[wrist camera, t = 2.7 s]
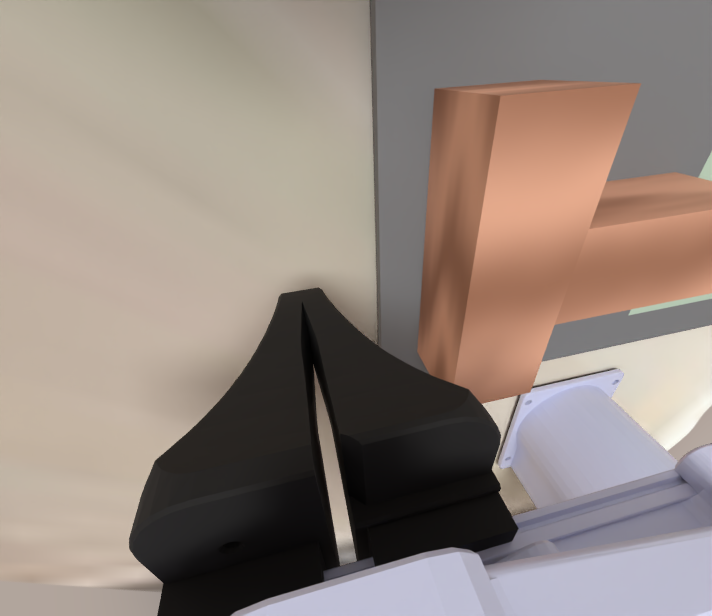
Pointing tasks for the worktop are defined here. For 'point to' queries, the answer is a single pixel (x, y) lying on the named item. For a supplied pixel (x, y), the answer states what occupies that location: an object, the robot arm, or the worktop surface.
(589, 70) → the mat
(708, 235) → the t block
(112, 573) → the worktop surface
